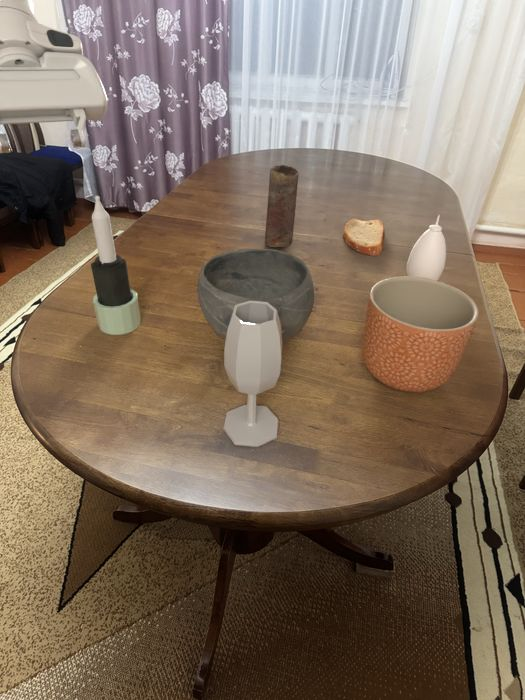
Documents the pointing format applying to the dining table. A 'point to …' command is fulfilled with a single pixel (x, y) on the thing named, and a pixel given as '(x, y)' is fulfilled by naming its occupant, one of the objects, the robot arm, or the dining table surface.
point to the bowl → (256, 287)
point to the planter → (416, 332)
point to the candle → (108, 263)
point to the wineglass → (252, 370)
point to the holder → (118, 316)
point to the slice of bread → (365, 236)
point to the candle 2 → (281, 206)
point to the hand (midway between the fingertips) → (43, 147)
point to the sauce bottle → (428, 254)
